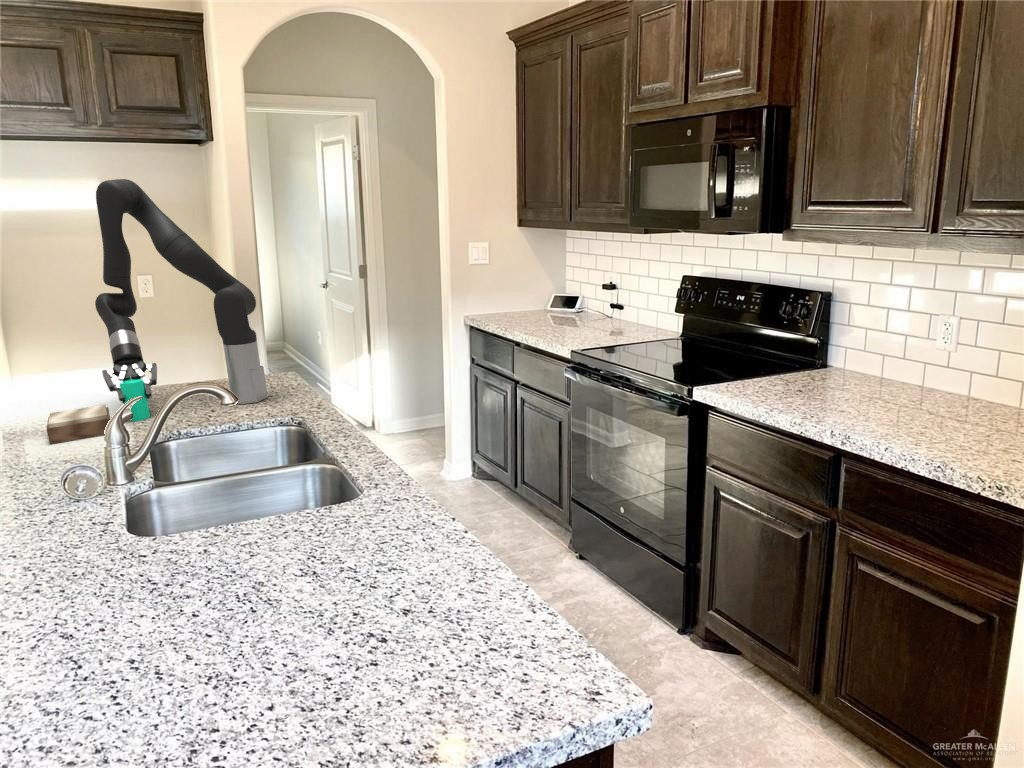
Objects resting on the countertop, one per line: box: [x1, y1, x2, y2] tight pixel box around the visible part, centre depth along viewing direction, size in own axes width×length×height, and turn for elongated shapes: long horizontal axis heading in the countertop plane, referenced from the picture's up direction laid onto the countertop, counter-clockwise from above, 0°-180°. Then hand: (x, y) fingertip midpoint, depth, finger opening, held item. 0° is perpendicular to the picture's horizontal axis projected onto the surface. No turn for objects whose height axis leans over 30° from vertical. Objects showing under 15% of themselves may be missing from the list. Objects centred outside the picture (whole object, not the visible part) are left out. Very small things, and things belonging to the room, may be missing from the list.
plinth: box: [46, 404, 111, 445], centre depth 196 cm, size 14×14×5 cm
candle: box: [119, 376, 151, 422], centre depth 206 cm, size 6×6×12 cm
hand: (136, 398), depth 205 cm, fingers closed on candle, 5 cm apart
